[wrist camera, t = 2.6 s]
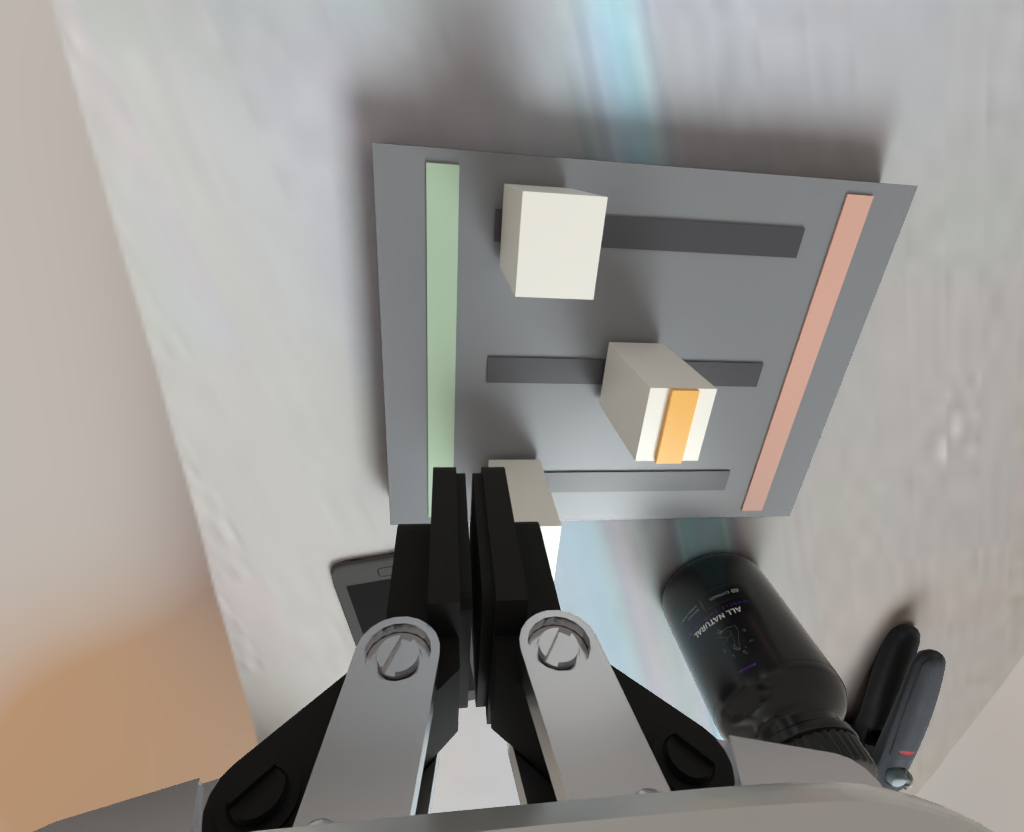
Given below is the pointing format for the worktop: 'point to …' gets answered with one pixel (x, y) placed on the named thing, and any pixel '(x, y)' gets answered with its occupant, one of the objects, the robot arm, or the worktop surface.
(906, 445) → the worktop surface
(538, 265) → the block
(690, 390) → the handle
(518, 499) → the block
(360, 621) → the cell phone
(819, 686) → the supplement bottle
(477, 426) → the breaker board
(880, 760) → the can opener
